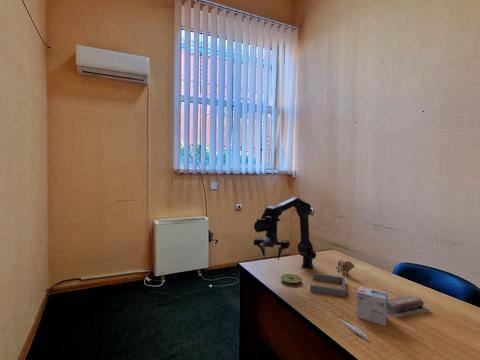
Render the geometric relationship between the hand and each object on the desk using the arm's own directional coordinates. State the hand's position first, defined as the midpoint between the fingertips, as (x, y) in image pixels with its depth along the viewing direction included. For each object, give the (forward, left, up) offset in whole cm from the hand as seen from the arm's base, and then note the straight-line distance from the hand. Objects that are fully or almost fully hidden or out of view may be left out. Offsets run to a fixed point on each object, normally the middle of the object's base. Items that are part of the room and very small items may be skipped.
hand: (271, 258), depth 145 cm
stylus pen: (+34, +39, -12) cm, 53 cm away
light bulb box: (+23, +47, -11) cm, 53 cm away
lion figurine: (-22, +38, -11) cm, 45 cm away
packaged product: (+11, +61, -12) cm, 63 cm away
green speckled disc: (0, +11, -11) cm, 16 cm away
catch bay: (0, +29, -11) cm, 31 cm away
